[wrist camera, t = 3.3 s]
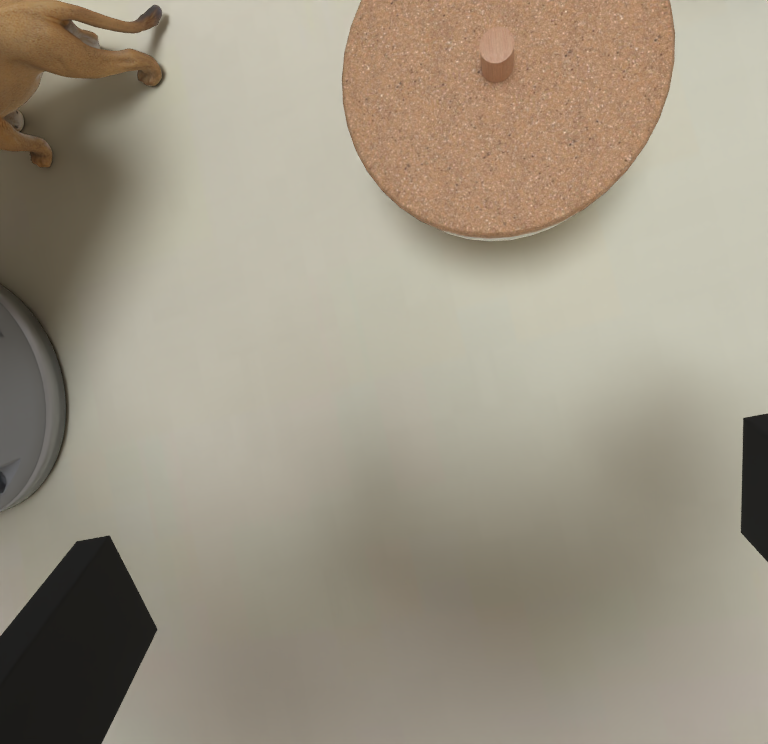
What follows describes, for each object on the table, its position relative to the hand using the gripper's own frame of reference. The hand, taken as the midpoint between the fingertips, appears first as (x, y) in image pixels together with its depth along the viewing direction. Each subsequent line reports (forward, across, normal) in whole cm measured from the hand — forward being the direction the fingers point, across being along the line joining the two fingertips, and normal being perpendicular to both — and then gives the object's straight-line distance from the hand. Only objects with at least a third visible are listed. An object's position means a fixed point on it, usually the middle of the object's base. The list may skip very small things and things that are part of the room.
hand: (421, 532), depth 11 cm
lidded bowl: (+18, +6, +7) cm, 21 cm away
